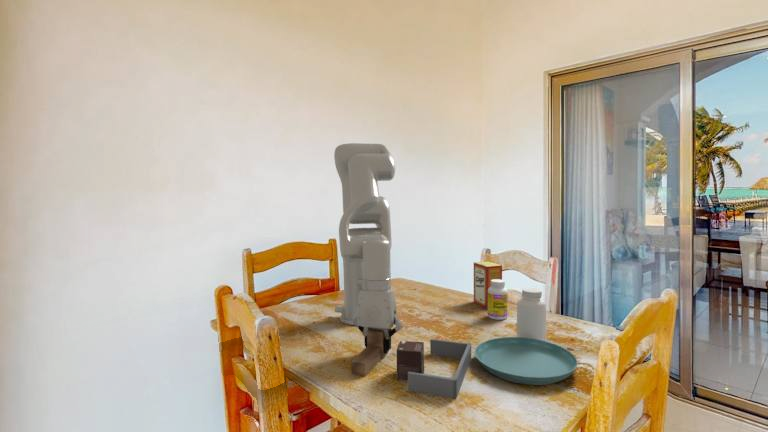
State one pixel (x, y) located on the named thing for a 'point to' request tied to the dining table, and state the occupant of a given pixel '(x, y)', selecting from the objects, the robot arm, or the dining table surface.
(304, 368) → the dining table surface
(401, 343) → the box
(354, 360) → the brown l-shaped block
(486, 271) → the baking soda box
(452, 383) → the open-sided frame
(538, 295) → the pill bottle
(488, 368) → the teal plate
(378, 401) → the dining table surface
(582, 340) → the dining table surface
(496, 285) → the supplement bottle
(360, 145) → the robot arm
